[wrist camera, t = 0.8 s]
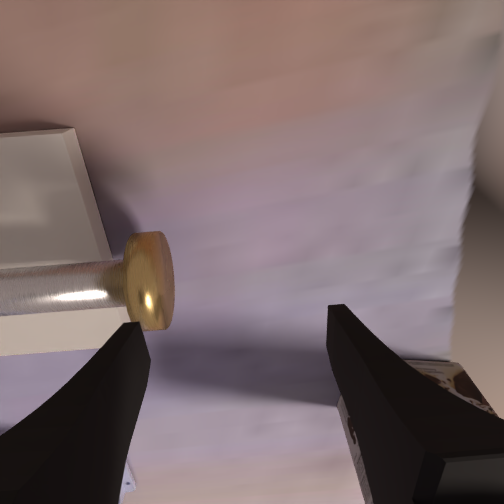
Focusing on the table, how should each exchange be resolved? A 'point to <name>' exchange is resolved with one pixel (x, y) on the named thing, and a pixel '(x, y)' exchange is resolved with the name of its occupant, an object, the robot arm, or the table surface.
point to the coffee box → (438, 372)
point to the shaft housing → (50, 236)
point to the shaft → (99, 284)
